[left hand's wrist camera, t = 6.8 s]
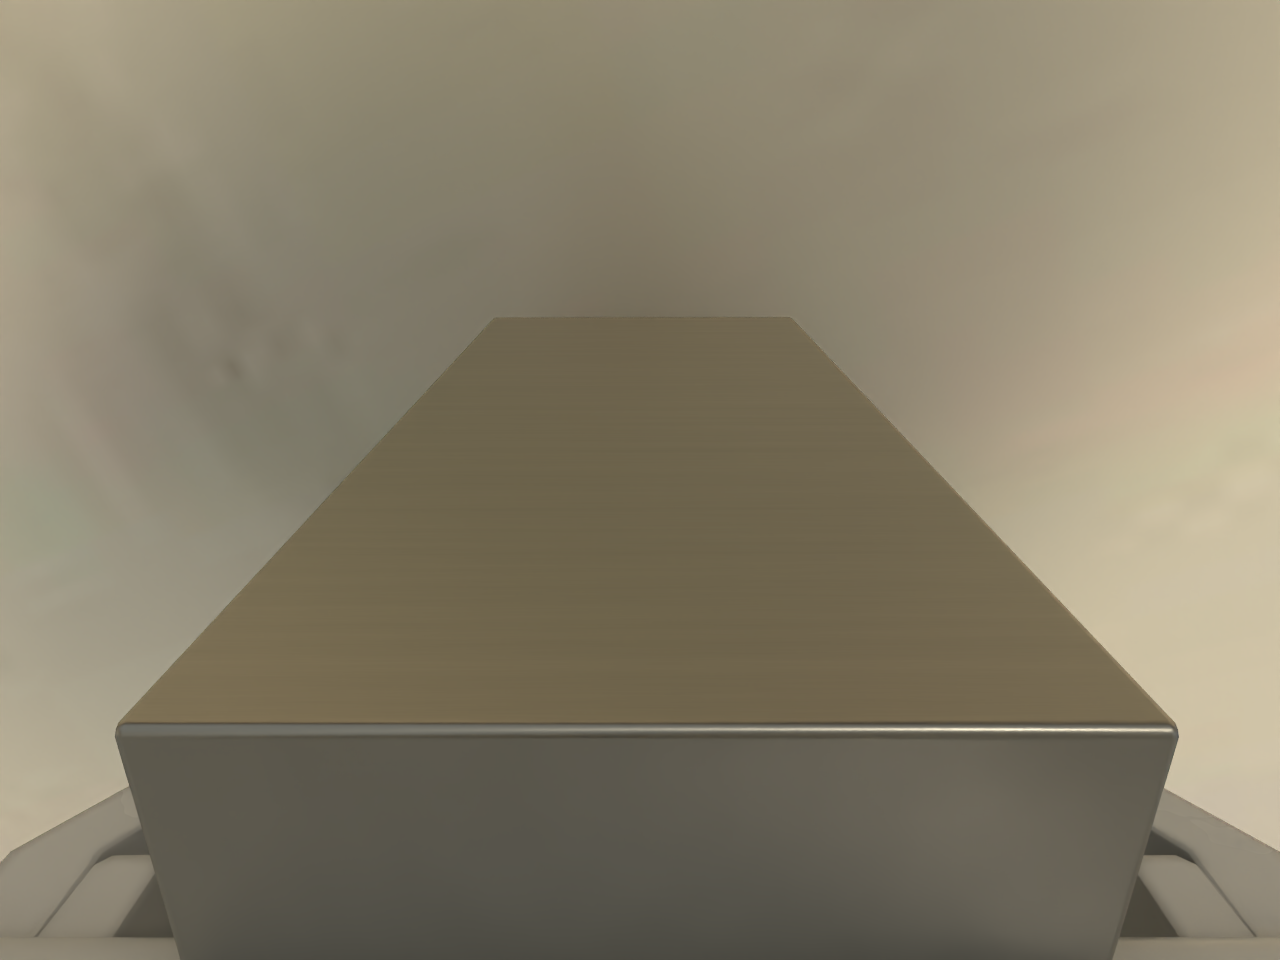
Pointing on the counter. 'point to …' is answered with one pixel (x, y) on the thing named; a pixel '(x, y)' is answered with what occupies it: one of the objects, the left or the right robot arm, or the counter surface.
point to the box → (645, 688)
